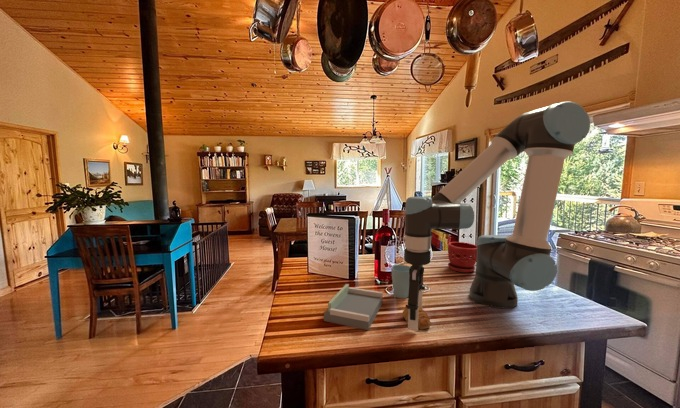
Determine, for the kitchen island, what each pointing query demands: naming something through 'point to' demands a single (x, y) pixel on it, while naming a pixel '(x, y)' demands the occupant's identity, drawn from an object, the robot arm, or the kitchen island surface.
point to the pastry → (419, 318)
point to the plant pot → (462, 256)
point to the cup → (400, 280)
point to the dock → (354, 307)
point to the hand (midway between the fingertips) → (415, 318)
